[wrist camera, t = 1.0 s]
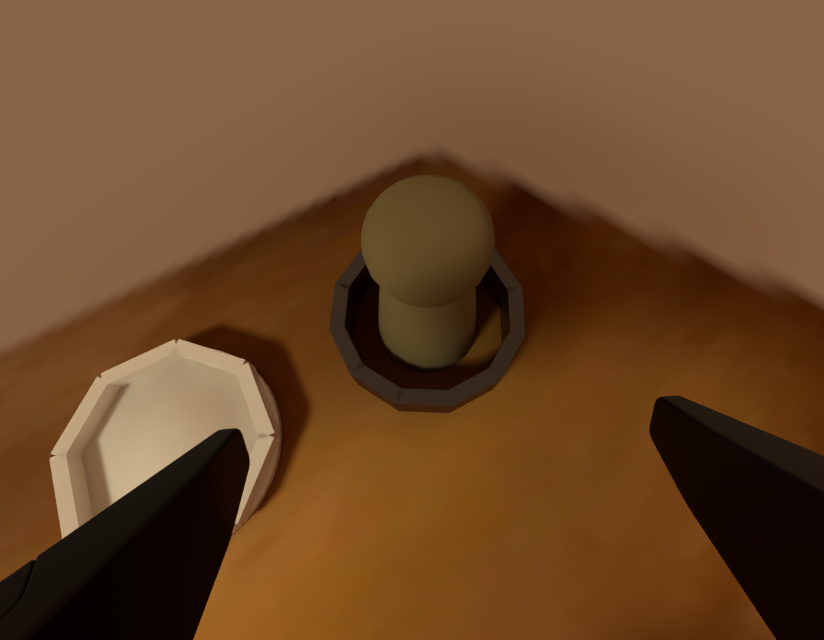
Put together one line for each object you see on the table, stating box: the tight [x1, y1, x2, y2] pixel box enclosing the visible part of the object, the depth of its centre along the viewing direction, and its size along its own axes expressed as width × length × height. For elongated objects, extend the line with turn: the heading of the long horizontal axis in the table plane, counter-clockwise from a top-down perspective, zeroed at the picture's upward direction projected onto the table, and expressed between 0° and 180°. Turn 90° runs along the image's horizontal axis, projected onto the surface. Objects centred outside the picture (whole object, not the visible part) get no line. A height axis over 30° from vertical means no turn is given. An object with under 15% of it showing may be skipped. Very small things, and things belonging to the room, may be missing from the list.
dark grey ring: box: [330, 249, 525, 413], centre depth 23 cm, size 11×11×2 cm
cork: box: [361, 175, 495, 372], centre depth 19 cm, size 6×6×11 cm
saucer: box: [50, 339, 282, 539], centre depth 21 cm, size 11×11×2 cm
